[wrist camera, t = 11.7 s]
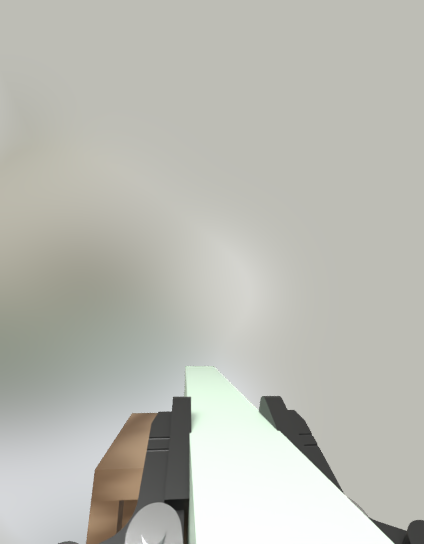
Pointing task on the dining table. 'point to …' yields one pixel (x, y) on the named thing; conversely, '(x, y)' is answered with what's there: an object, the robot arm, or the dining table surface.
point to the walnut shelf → (119, 479)
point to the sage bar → (258, 478)
